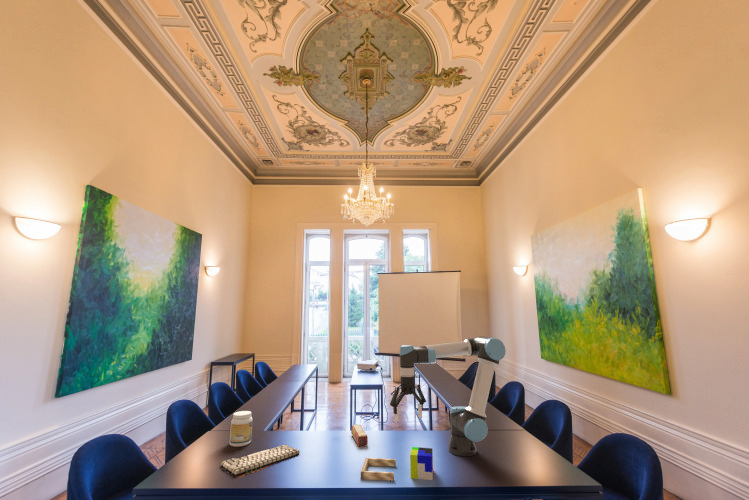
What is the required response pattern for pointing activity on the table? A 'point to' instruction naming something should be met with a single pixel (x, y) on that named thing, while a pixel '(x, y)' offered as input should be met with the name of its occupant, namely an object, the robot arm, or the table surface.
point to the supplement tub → (241, 429)
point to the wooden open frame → (377, 475)
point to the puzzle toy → (421, 463)
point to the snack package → (359, 435)
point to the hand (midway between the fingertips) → (408, 419)
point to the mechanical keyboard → (258, 460)
